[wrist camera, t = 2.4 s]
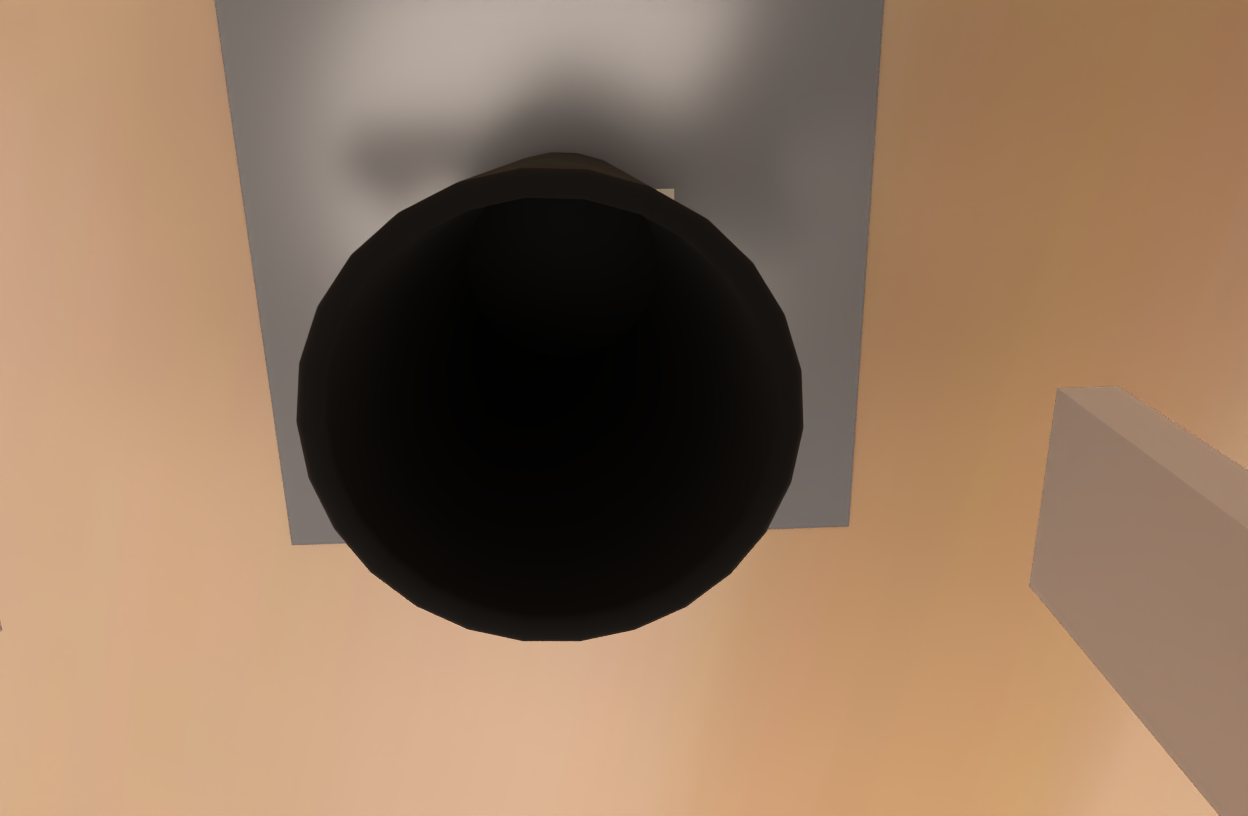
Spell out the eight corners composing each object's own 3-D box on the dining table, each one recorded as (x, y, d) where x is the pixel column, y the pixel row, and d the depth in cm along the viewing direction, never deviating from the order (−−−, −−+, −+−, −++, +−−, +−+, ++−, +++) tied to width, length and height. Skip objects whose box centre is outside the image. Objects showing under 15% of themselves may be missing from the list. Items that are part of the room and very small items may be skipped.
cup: (770, 253, 27) (908, 412, 16) (573, 452, 29) (571, 726, 17) (550, 40, 25) (529, 46, 14) (353, 268, 27) (189, 442, 15)
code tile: (877, -78, 25) (889, -82, 24) (840, 511, 31) (849, 526, 30) (218, -69, 25) (203, -74, 24) (300, 529, 30) (291, 545, 29)
